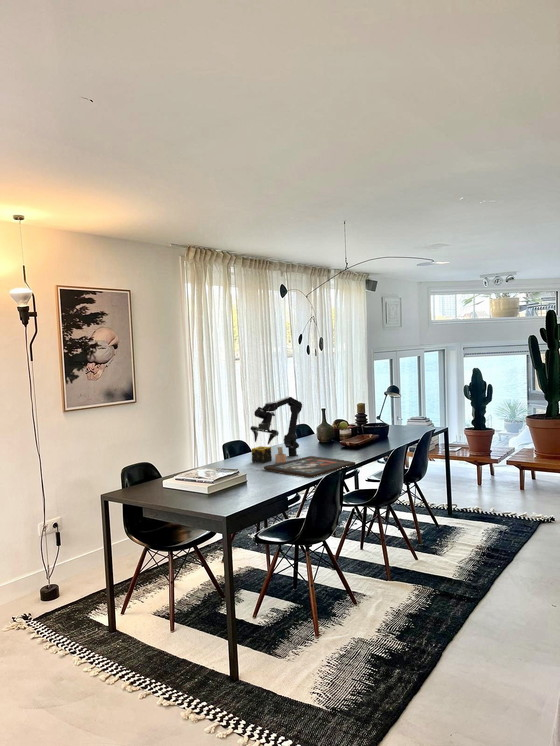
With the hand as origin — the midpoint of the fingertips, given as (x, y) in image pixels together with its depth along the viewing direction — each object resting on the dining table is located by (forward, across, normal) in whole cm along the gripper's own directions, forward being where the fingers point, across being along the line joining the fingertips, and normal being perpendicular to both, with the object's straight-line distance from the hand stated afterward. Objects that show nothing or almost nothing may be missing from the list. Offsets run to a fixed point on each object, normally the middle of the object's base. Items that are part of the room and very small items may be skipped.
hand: (261, 443), depth 372 cm
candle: (+12, 0, +9) cm, 15 cm away
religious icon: (+11, +38, -7) cm, 40 cm away
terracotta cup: (+9, +14, +7) cm, 18 cm away
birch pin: (+9, +14, +7) cm, 18 cm away
